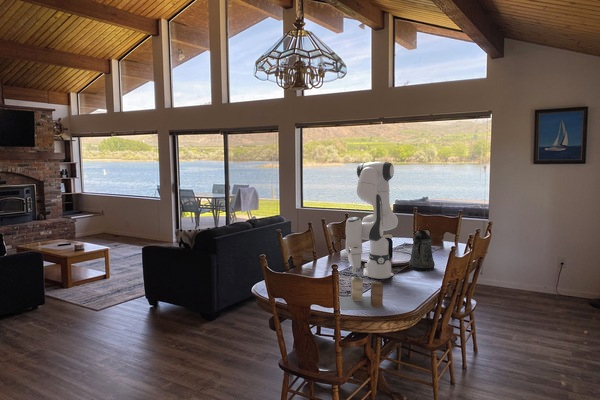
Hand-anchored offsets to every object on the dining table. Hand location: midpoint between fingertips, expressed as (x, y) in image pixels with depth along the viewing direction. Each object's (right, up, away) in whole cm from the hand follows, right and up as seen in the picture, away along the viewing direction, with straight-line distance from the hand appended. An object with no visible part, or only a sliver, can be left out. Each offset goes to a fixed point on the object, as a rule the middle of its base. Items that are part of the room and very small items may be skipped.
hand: (354, 272), depth 235 cm
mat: (+2, -14, -13) cm, 19 cm away
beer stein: (+51, -6, +53) cm, 74 cm away
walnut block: (+9, -14, -16) cm, 23 cm away
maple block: (0, -13, -7) cm, 14 cm away
